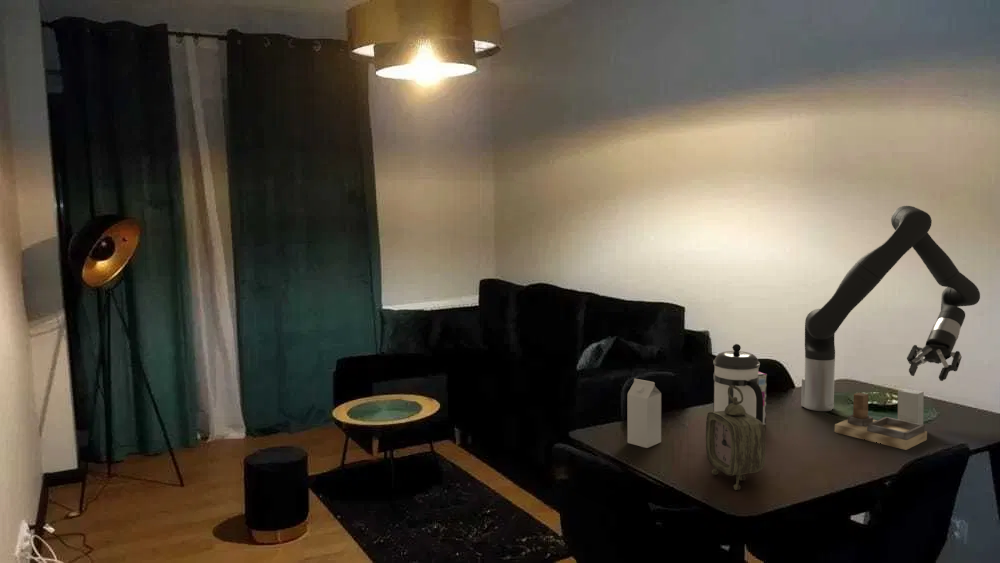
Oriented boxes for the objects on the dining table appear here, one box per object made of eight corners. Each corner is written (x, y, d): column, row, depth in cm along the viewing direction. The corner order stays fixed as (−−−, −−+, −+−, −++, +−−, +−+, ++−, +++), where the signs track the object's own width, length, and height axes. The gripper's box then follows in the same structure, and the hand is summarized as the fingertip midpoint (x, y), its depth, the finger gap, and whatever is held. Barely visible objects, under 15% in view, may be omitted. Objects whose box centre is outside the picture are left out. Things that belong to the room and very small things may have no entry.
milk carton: (641, 437, 229) (641, 376, 226) (661, 442, 224) (661, 380, 221) (627, 443, 224) (627, 380, 221) (647, 448, 219) (647, 384, 216)
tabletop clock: (705, 473, 199) (706, 380, 196) (736, 469, 201) (737, 378, 198) (734, 494, 185) (735, 395, 182) (767, 490, 187) (769, 392, 184)
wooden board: (834, 432, 229) (835, 395, 228) (856, 423, 237) (857, 387, 236) (906, 450, 213) (907, 410, 211) (926, 439, 221) (928, 401, 219)
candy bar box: (766, 425, 238) (768, 374, 236) (753, 426, 236) (754, 375, 234) (746, 415, 248) (746, 366, 246) (732, 416, 247) (733, 367, 245)
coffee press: (699, 449, 217) (700, 346, 214) (718, 433, 230) (719, 337, 227) (761, 460, 207) (763, 353, 204) (777, 443, 220) (779, 342, 217)
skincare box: (923, 430, 229) (925, 391, 228) (917, 433, 226) (919, 394, 225) (902, 425, 234) (904, 387, 232) (895, 428, 231) (897, 390, 230)
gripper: (916, 325, 243) (898, 366, 238) (965, 331, 232) (947, 374, 227) (923, 339, 247) (905, 379, 242) (971, 345, 236) (954, 388, 231)
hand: (925, 376), depth 234 cm, fingers open, 8 cm apart
